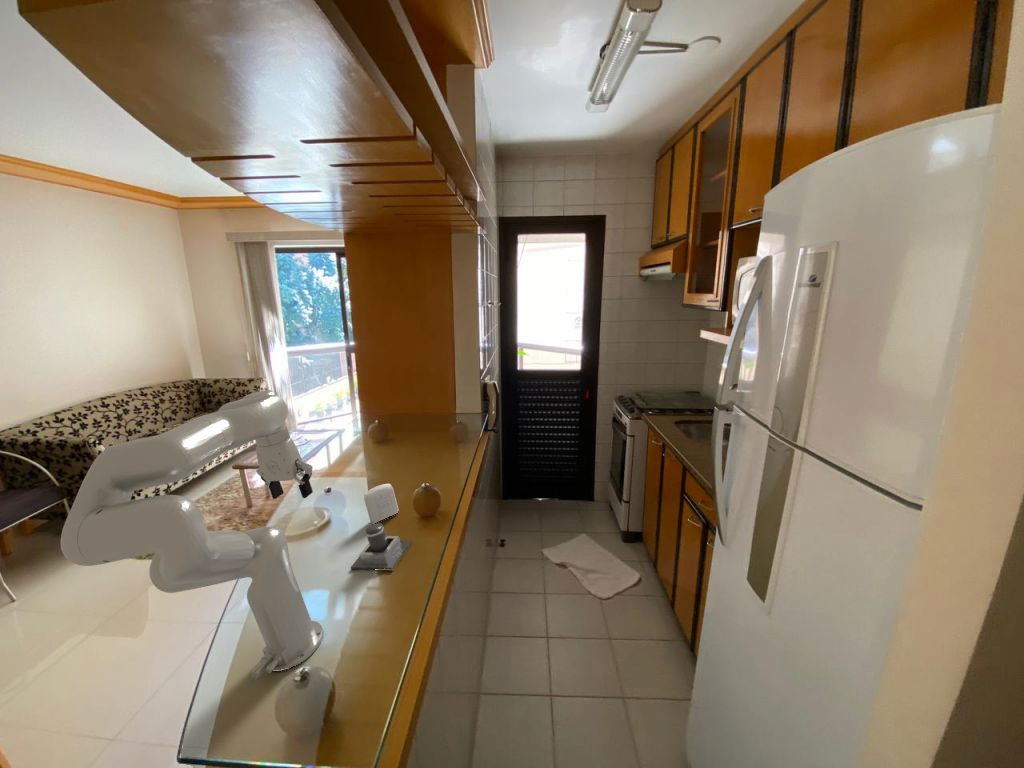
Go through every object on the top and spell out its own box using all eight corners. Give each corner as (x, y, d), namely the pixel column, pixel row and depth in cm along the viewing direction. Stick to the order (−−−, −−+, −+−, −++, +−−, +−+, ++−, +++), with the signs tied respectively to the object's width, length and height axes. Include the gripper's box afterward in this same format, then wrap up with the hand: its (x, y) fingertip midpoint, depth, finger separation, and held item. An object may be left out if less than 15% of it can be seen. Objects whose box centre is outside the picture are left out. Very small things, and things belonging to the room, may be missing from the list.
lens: (384, 559, 117) (377, 533, 115) (369, 559, 119) (362, 533, 117) (393, 548, 122) (386, 523, 120) (379, 547, 124) (371, 523, 121)
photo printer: (397, 508, 147) (389, 479, 144) (401, 513, 143) (392, 483, 140) (369, 521, 142) (360, 490, 138) (372, 526, 138) (363, 495, 135)
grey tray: (393, 571, 113) (389, 559, 112) (351, 569, 117) (347, 558, 116) (412, 543, 125) (409, 532, 124) (373, 543, 128) (370, 532, 127)
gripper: (234, 446, 101) (256, 504, 106) (289, 442, 97) (309, 503, 101) (258, 434, 108) (278, 489, 113) (310, 429, 104) (329, 487, 108)
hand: (293, 495), depth 107 cm, fingers open, 9 cm apart
